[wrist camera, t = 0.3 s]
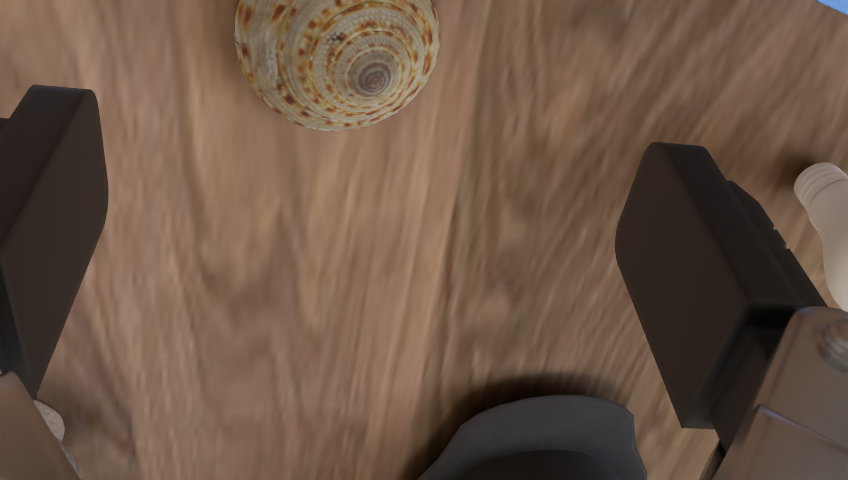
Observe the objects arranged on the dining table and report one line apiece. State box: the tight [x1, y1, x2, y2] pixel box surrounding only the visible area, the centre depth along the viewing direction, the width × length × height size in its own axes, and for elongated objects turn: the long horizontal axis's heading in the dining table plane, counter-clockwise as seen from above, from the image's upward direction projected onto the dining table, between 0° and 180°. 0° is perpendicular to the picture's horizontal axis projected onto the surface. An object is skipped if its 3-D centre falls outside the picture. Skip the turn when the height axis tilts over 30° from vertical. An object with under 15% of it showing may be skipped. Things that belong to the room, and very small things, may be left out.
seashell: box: [234, 0, 440, 131], centre depth 34 cm, size 8×6×8 cm
